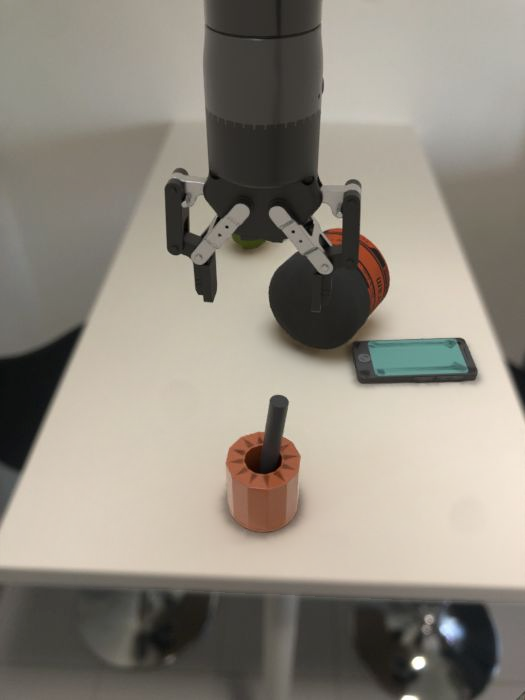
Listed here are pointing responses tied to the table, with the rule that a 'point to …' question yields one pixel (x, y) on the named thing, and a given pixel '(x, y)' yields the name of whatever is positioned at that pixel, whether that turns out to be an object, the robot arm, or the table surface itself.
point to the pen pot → (262, 485)
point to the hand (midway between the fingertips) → (263, 301)
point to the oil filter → (345, 302)
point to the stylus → (273, 434)
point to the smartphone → (413, 360)
